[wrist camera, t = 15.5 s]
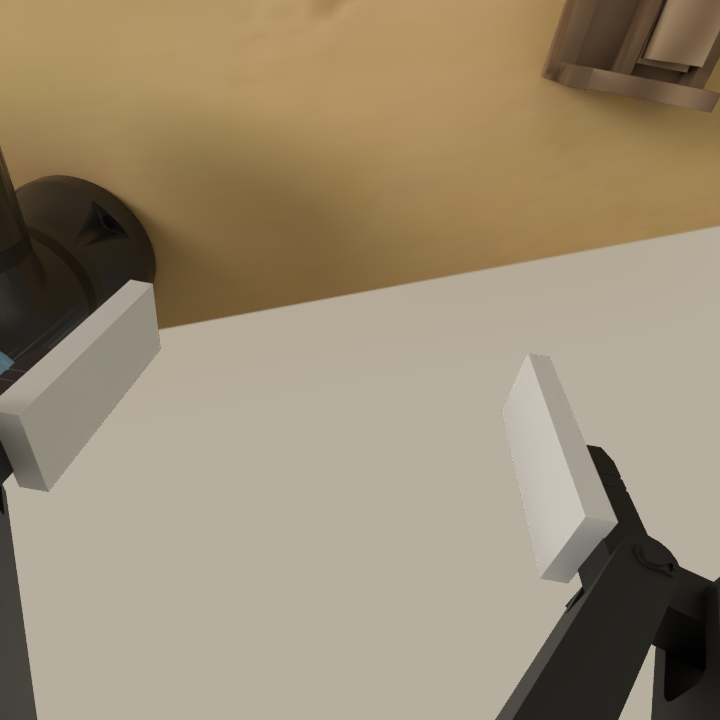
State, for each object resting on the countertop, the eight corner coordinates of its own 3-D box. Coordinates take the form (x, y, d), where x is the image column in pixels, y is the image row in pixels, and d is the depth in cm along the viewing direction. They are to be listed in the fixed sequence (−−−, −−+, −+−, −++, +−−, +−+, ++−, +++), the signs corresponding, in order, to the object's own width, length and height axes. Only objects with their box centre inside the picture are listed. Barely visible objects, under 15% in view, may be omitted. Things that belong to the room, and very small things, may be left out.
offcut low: (629, 61, 36) (636, 62, 34) (688, -80, 31) (699, -84, 30) (677, 70, 36) (686, 72, 34) (744, -69, 31) (757, -73, 30)
